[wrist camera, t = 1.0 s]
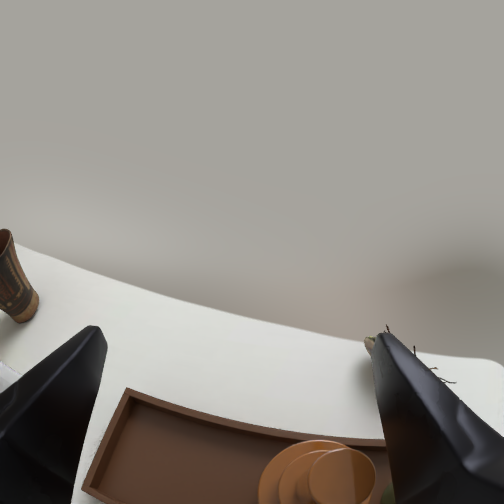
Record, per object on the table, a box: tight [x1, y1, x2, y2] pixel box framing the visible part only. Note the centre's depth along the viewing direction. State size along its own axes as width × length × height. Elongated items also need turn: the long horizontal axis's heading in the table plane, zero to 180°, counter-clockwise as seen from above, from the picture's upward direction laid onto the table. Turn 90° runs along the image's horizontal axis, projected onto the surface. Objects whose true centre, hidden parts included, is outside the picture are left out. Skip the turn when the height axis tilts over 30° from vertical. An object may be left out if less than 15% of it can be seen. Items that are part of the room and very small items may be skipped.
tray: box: [81, 387, 392, 504], centre depth 15 cm, size 10×29×2 cm, turn 77°
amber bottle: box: [257, 440, 376, 504], centre depth 11 cm, size 5×5×14 cm
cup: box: [0, 229, 39, 323], centre depth 26 cm, size 9×9×10 cm
